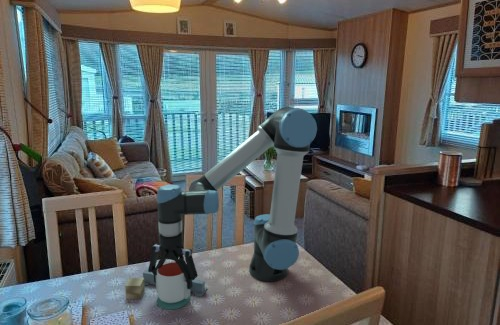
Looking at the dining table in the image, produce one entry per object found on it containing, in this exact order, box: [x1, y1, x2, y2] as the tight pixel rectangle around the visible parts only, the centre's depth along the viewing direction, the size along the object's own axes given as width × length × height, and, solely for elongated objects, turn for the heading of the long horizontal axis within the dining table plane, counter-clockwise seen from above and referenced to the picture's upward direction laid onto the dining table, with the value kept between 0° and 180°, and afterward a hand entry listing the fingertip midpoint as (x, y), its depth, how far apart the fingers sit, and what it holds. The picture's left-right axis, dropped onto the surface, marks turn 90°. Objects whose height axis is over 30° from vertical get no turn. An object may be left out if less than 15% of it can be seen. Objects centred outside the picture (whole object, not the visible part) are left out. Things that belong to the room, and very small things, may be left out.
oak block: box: [124, 277, 146, 300], centre depth 120 cm, size 5×5×5 cm
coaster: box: [156, 295, 191, 311], centre depth 117 cm, size 11×11×1 cm
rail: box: [142, 269, 208, 298], centre depth 125 cm, size 24×5×4 cm, turn 72°
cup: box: [157, 261, 186, 303], centre depth 116 cm, size 10×10×10 cm
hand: (173, 293), depth 117 cm, fingers closed on cup, 10 cm apart
